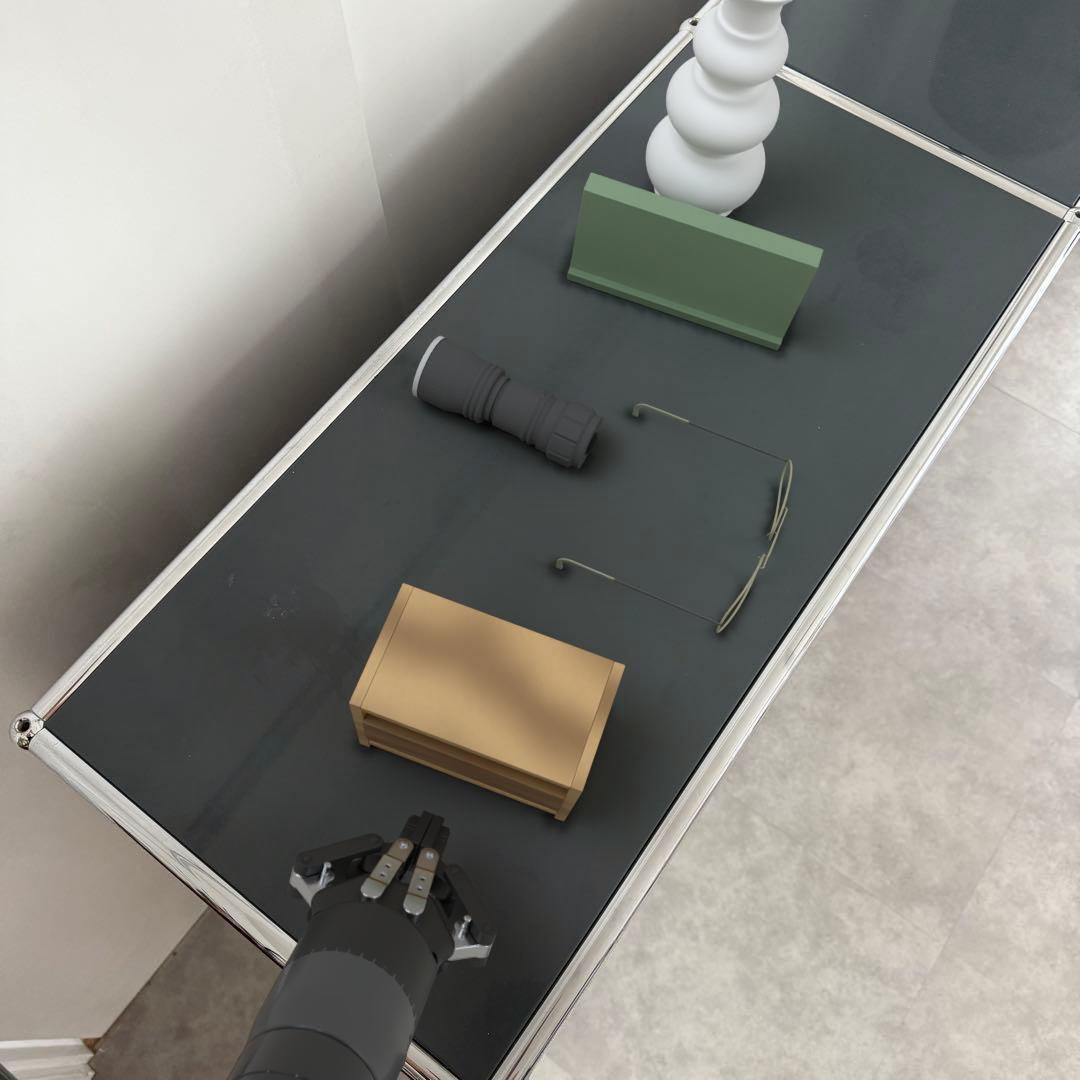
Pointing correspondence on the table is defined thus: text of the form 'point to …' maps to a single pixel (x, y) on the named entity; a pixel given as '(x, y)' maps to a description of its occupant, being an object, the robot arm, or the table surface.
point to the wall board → (690, 261)
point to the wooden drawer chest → (485, 700)
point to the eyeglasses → (635, 413)
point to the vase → (721, 108)
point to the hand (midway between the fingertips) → (430, 824)
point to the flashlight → (505, 402)
